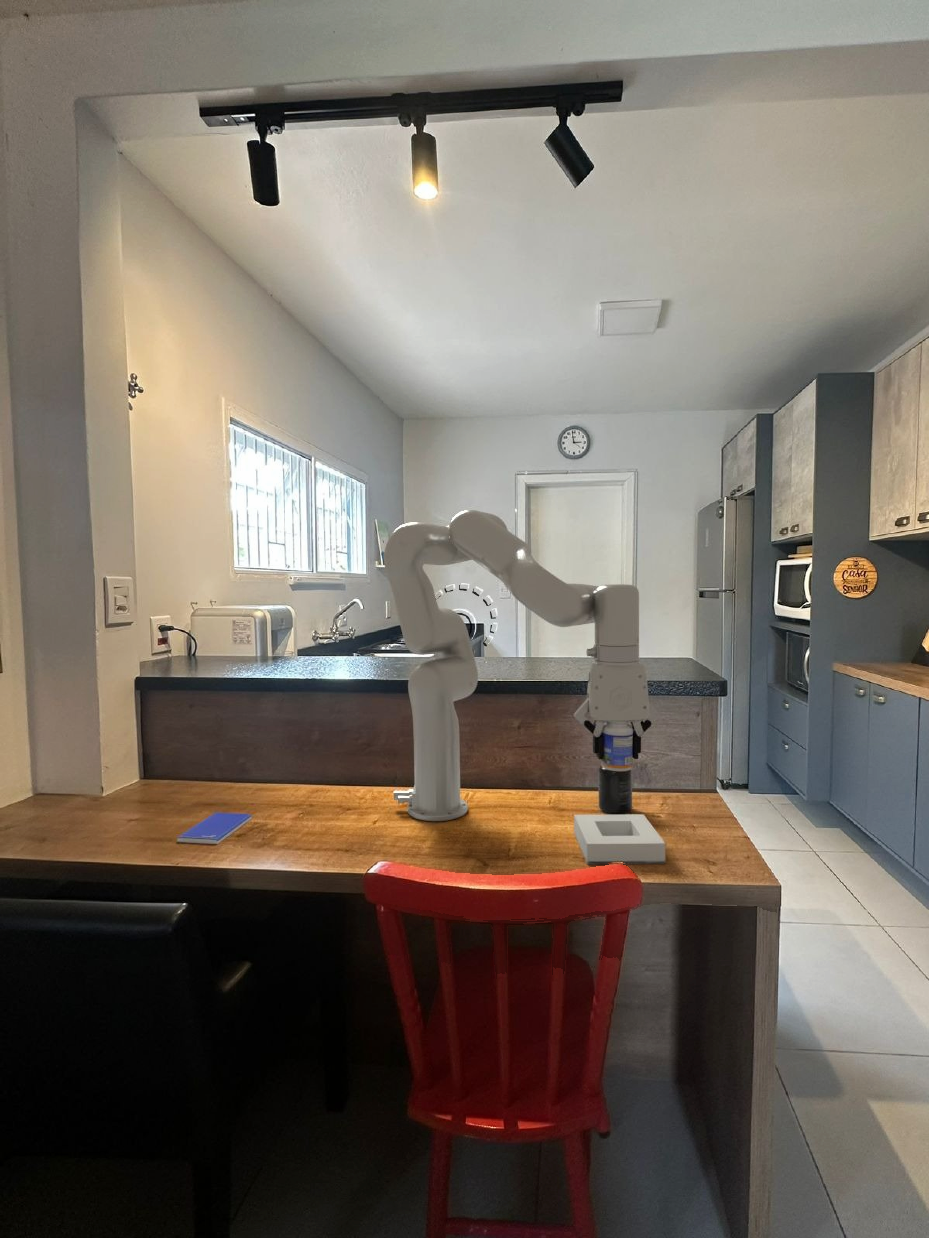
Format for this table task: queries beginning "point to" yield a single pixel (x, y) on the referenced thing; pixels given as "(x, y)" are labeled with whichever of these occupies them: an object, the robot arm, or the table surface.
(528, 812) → the table surface
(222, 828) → the hard drive
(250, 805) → the table surface
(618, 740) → the pill bottle
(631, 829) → the housing
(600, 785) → the supplement bottle
